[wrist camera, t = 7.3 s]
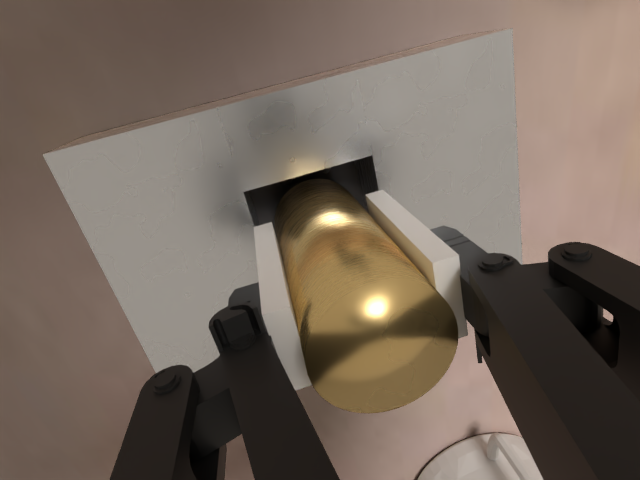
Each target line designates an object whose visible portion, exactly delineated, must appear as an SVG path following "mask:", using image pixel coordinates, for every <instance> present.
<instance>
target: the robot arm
mask: <svg viewBox="0 0 640 480" xmlns="http://www.w3.org/2000/svg"><path fill="white" fill-rule="evenodd" d="M365 196H366V201H367V206H368V211H369V215H370V216H371V217H372V218H373V219H374V220H375V221H376V223H377V224H378V225H379V226H380V227H381V228H382V229H383V230H384V232H385V233H386V234H387V235H388V236H389V237H390V238H391V239H392V241H393V242H394V243H395V244H396V245H397V246H398V247H399V248H400V250H401V251H402V252H403V253H404V254H405V255H406V256H407V257H408V259H409V260H410V261H411V262H412V263H413V264H414V265H415V266H416V268H417V269H418V270H419V271H420V272H421V273H422V274H423V275H424V277H425V278H426V279H427V280H428V281H429V282H430V283H431V284H432V286H433V287H434V288H435V289H436V290H437V291H438V292H439V293H440V295H441V296H442V297H443V298H444V299H445V300H446V301H447V303H448V304H449V305H450V307H451V309H452V310H453V312H454V315H455V317H456V320H457V325H458V338H461V337H464V336H467V335H468V331H467V322H466V319H467V321H468V322H469V323H470V324H471V325H472V326H473V327H474V330H475V340H476V349H477V358H478V363H482V356H483V358H484V360H485V362H486V364H487V366H488V368H489V370H490V372H491V374H492V376H493V378H494V380H495V382H496V384H497V386H498V388H499V390H500V392H501V394H502V396H503V398H504V400H505V403H506V405H507V407H508V409H509V411H510V413H511V415H512V417H513V419H514V421H515V423H516V425H517V427H518V429H519V431H520V433H521V435H522V437H523V439H524V441H525V443H526V445H527V447H528V449H529V451H530V453H531V455H532V458H533V460H534V462H535V464H536V466H537V468H538V470H539V472H540V474H541V476H542V478H543V480H640V266H638V265H636V264H634V263H632V262H629V261H627V260H625V259H623V258H621V257H619V256H617V255H614V254H612V253H610V252H608V251H606V250H604V249H602V248H600V247H597V246H594V245H591V244H586V243H580V242H573V243H572V242H569V243H565V244H560V245H557V246H555V247H553V248H551V249H550V251H549V252H548V262H544V263H535V264H524V265H521V264H520V263H519V262H518V261H517V260H516V259H515V258H514V257H512V256H510V255H507V254H503V253H487V252H486V251H484V250H483V249H482V248H480V247H479V246H478V245H476V244H475V243H474V242H472V241H470V239H468V238H467V237H466V236H464V235H463V234H462V233H460V232H459V231H458V230H456V229H454V228H450V227H447V226H440V227H437V228H433V229H430V230H429V229H428V228H427V227H426V226H425V225H423V224H422V223H421V222H420V221H419V220H418V219H416V218H415V217H414V216H413V215H412V214H411V213H410V212H408V211H407V210H406V209H405V208H404V207H403V206H401V205H400V204H399V203H398V202H397V201H396V200H394V199H393V198H392V197H391V196H390V195H389V194H387V193H386V192H385V191H384V190H380V191H376V192H373V193H369V194H366V195H365ZM254 238H255V248H256V259H257V269H258V280H259V282H257V283H254V284H250V285H247V286H244V287H240V288H237V289H235V290H234V291H233V293H232V294H231V296H230V297H229V300H228V306H227V307H225V308H223V309H221V310H220V311H218V312H217V313H216V314H215V315H214V316H213V317H212V318H211V320H210V321H209V330H210V332H211V334H212V337H213V339H214V342H215V344H216V346H217V349H218V351H219V354H220V356H219V357H218V358H216V359H215V360H214V361H213V362H211V363H210V364H208V365H207V366H205V367H203V368H201V369H199V370H198V371H196V372H194V373H193V371H192V369H190V368H189V367H188V366H186V365H175V366H170V367H168V368H165V369H163V370H161V371H159V372H157V373H156V374H155V375H153V376H152V377H151V378H150V379H149V380H148V381H147V382H146V383H145V384H144V386H143V388H142V390H141V391H140V394H139V397H138V400H137V403H136V406H135V409H134V412H133V414H132V417H131V420H130V423H129V426H128V429H127V432H126V434H125V437H124V440H123V443H122V446H121V449H120V452H119V454H118V457H117V460H116V463H115V466H114V469H113V472H112V474H111V477H110V480H224V476H225V463H226V450H227V447H226V443H228V442H229V441H231V440H232V439H234V438H236V437H237V436H239V435H240V434H242V435H243V439H244V442H245V446H246V450H247V453H248V457H249V460H250V464H251V467H252V471H253V474H254V478H255V480H340V479H339V477H338V475H337V473H336V471H335V469H334V467H333V465H332V463H331V461H330V459H329V457H328V455H327V453H326V451H325V449H324V447H323V445H322V443H321V441H320V439H319V437H318V435H317V433H316V431H315V429H314V427H313V425H312V423H311V421H310V419H309V417H308V415H307V413H306V411H305V409H304V407H303V405H302V403H301V401H300V399H299V397H298V395H297V393H296V390H299V389H302V388H305V387H308V386H311V385H312V384H311V382H310V379H309V377H308V374H307V370H306V365H305V361H304V357H303V352H302V348H301V343H300V336H299V332H298V327H297V323H296V318H295V314H294V310H293V305H292V301H291V296H290V292H289V287H288V283H287V278H286V274H285V270H284V265H283V261H282V256H281V252H280V247H279V244H278V240H277V237H276V234H275V231H274V228H273V224H272V222H270V223H266V224H263V225H259V226H256V227H254ZM603 308H604V309H606V310H607V311H609V312H610V313H611V314H612V315H613V322H611V321H609V320H607V319H605V318H604V317H603Z"/></svg>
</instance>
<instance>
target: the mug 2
mask: <svg viewBox="0 0 640 480" xmlns="http://www.w3.org/2000/svg"><path fill="white" fill-rule="evenodd" d="M417 480H543V478H542V476H541V474H540V472H539V470H538V468H537V466H536V464H535V462H534V460H533V458H532V455H531V453H530V451H529V449H528V447H527V445H526V443H525V441H524V439H523V438H522V437H519V436H515V435H510V434H503V433H497V432H495V433H490V434H482V435H477V436H474V437H470V438H467V439H465V440H462V441H460V442H458V443H456V444H454V445H452V446H450V447H449V448H447V449H446V450H444V451H443V452H441V453H440V454H439V455H437V456H436V457H435V458H434V459H433V460H432V461H431V462H430V463H429V464H428V465H427V466H426V467H425V468H424V470H423V471H422V473H421V474H420V476H419V478H418V479H417Z"/></svg>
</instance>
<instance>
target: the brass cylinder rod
mask: <svg viewBox="0 0 640 480" xmlns="http://www.w3.org/2000/svg"><path fill="white" fill-rule="evenodd" d="M274 226H275V231H276V236H277V240H278V244H279V247H280V252H281V256H282V261H283V265H284V270H285V274H286V278H287V283H288V287H289V292H290V296H291V301H292V305H293V310H294V314H295V318H296V323H297V327H298V332H299V336H300V343H301V348H302V352H303V357H304V361H305V365H306V370H307V374H308V377H309V379H310V382H311V384H312V385H313V387H314V389H315V390H316V391H317V392H318V393H319V395H320V396H321V397H323V398H324V399H325V400H326V401H327V402H329V403H331V404H332V405H334V406H336V407H339V408H341V409H344V410H347V411H351V412H357V413H379V412H385V411H389V410H393V409H397V408H399V407H402V406H404V405H407V404H409V403H411V402H413V401H415V400H416V399H418V398H419V397H421V396H423V395H424V394H425V393H426V392H428V391H429V390H430V389H431V388H432V387H433V386H435V385H436V384H437V383H438V381H439V380H440V379H441V378H442V377H443V375H444V374H445V373H446V371H447V370H448V368H449V366H450V364H451V362H452V360H453V358H454V355H455V353H456V349H457V345H458V325H457V320H456V317H455V315H454V312H453V310H452V309H451V307H450V305H449V304H448V303H447V301H446V300H445V299H444V298H443V297H442V296H441V295H440V293H439V292H438V291H437V290H436V289H435V288H434V287H433V286H432V284H431V283H430V282H429V281H428V280H427V279H426V278H425V277H424V275H423V274H422V273H421V272H420V271H419V270H418V269H417V268H416V266H415V265H414V264H413V263H412V262H411V261H410V260H409V259H408V257H407V256H406V255H405V254H404V253H403V252H402V251H401V250H400V248H399V247H398V246H397V245H396V244H395V243H394V242H393V241H392V239H391V238H390V237H389V236H388V235H387V234H386V233H385V232H384V230H383V229H382V228H381V227H380V226H379V225H378V224H377V223H376V221H375V220H374V219H373V218H372V217H371V216H370V215H369V214H368V212H367V211H366V210H365V209H364V208H363V207H362V206H361V205H360V203H359V202H358V201H357V200H356V199H355V198H354V197H353V196H352V194H351V193H350V192H349V191H348V190H347V189H346V188H345V187H343V186H342V185H340V184H339V183H336V182H334V181H331V180H327V179H310V180H306V181H303V182H301V183H299V184H297V185H295V186H293V187H292V188H291V189H289V190H288V191H287V192H286V193H285V194H284V196H283V197H282V198H281V200H280V202H279V204H278V206H277V208H276V211H275V216H274Z"/></svg>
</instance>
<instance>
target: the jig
mask: <svg viewBox="0 0 640 480" xmlns="http://www.w3.org/2000/svg"><path fill="white" fill-rule="evenodd" d="M42 155H43V157H44V159H45V161H46V162H47V164H48V166H49V168H50V170H51V172H52V174H53V176H54V178H55V180H56V182H57V184H58V186H59V188H60V189H61V191H62V193H63V195H64V197H65V199H66V201H67V203H68V205H69V207H70V209H71V211H72V213H73V215H74V216H75V218H76V220H77V222H78V224H79V226H80V228H81V230H82V232H83V234H84V236H85V238H86V240H87V242H88V243H89V245H90V247H91V249H92V251H93V253H94V255H95V257H96V259H97V261H98V263H99V265H100V267H101V269H102V270H103V272H104V274H105V276H106V278H107V280H108V282H109V284H110V286H111V288H112V290H113V292H114V294H115V295H116V297H117V299H118V301H119V303H120V305H121V307H122V309H123V311H124V313H125V315H126V317H127V319H128V321H129V322H130V324H131V326H132V328H133V330H134V332H135V334H136V336H137V338H138V340H139V342H140V344H141V346H142V348H143V349H144V351H145V353H146V355H147V357H148V359H149V361H150V363H151V365H152V367H153V369H154V371H155V373H157V372H159V371H161V370H163V369H165V368H168V367H170V366H175V365H186V366H188V367H189V368H190V369H192V371H193V373H194V372H196V371H198V370H199V369H201V368H203V367H205V366H207V365H208V364H210V363H211V362H213V361H214V360H215V359H216V358H218V357H219V356H220V354H219V351H218V349H217V346H216V344H215V342H214V339H213V337H212V334H211V332H210V330H209V321H210V320H211V318H212V317H213V316H214V315H215V314H216V313H217V312H218V311H220V310H221V309H223V308H225V307H227V306H228V300H229V297H230V296H231V294H232V293H233V291H234V290H235V289H237V288H240V287H244V286H247V285H250V284H254V283H257V282H259V280H258V269H257V259H256V248H255V238H254V227H256V226H259V225H263V224H266V223H270V222H272V224H273V228H274V231H275V226H274V216H275V211H276V208H277V206H278V204H279V202H280V200H281V198H282V197H283V196H284V194H285V193H286V192H287V191H288V190H289V189H291V188H292V187H293V186H295V185H297V184H299V183H301V182H303V181H306V180H310V179H327V180H331V181H334V182H336V183H339V184H340V185H342V186H343V187H345V188H346V189H347V190H348V191H349V192H350V193H351V194H352V196H353V197H354V198H355V199H356V200H357V201H358V202H359V203H360V205H361V206H362V207H363V208H364V209H365V210H366V211H367V212H368V214H369V211H368V206H367V201H366V196H365V195H366V194H369V193H373V192H376V191H380V190H384V191H385V192H386V193H387V194H389V195H390V196H391V197H392V198H393V199H394V200H396V201H397V202H398V203H399V204H400V205H401V206H403V207H404V208H405V209H406V210H407V211H408V212H410V213H411V214H412V215H413V216H414V217H415V218H416V219H418V220H419V221H420V222H421V223H422V224H423V225H425V226H426V227H427V228H428V229H429V230H430V229H433V228H437V227H440V226H447V227H450V228H454V229H456V230H458V231H459V232H460V233H462V234H463V235H464V236H466V237H467V238H468V239H470V241H472V242H474V243H475V244H476V245H478V246H479V247H480V248H482V249H483V250H484V251H486V252H487V253H503V254H507V255H510V256H512V257H514V258H515V259H516V260H517V261H518V262H519V263H520V264H521V265H522V242H521V218H520V195H519V171H518V148H517V124H516V101H515V77H514V54H513V30H512V28H509V29H502V30H495V31H487V32H480V33H473V34H466V35H460V36H457V37H453V38H449V39H445V40H442V41H438V42H434V43H430V44H427V45H423V46H419V47H416V48H412V49H408V50H404V51H401V52H397V53H393V54H389V55H386V56H382V57H378V58H374V59H371V60H367V61H363V62H360V63H356V64H352V65H348V66H345V67H341V68H337V69H333V70H330V71H326V72H322V73H318V74H315V75H311V76H307V77H304V78H300V79H296V80H292V81H289V82H285V83H281V84H277V85H274V86H270V87H266V88H263V89H259V90H255V91H251V92H248V93H244V94H240V95H236V96H233V97H229V98H225V99H221V100H218V101H214V102H210V103H207V104H203V105H199V106H195V107H192V108H188V109H184V110H180V111H177V112H173V113H169V114H165V115H162V116H158V117H154V118H151V119H147V120H143V121H139V122H136V123H132V124H128V125H124V126H121V127H117V128H113V129H110V130H106V131H102V132H98V133H95V134H91V135H87V136H83V137H80V138H78V139H76V140H73V141H71V142H69V143H67V144H65V145H62V146H60V147H58V148H56V149H53V150H51V151H49V152H47V153H45V154H42ZM275 234H276V231H275ZM276 237H277V236H276Z"/></svg>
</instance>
